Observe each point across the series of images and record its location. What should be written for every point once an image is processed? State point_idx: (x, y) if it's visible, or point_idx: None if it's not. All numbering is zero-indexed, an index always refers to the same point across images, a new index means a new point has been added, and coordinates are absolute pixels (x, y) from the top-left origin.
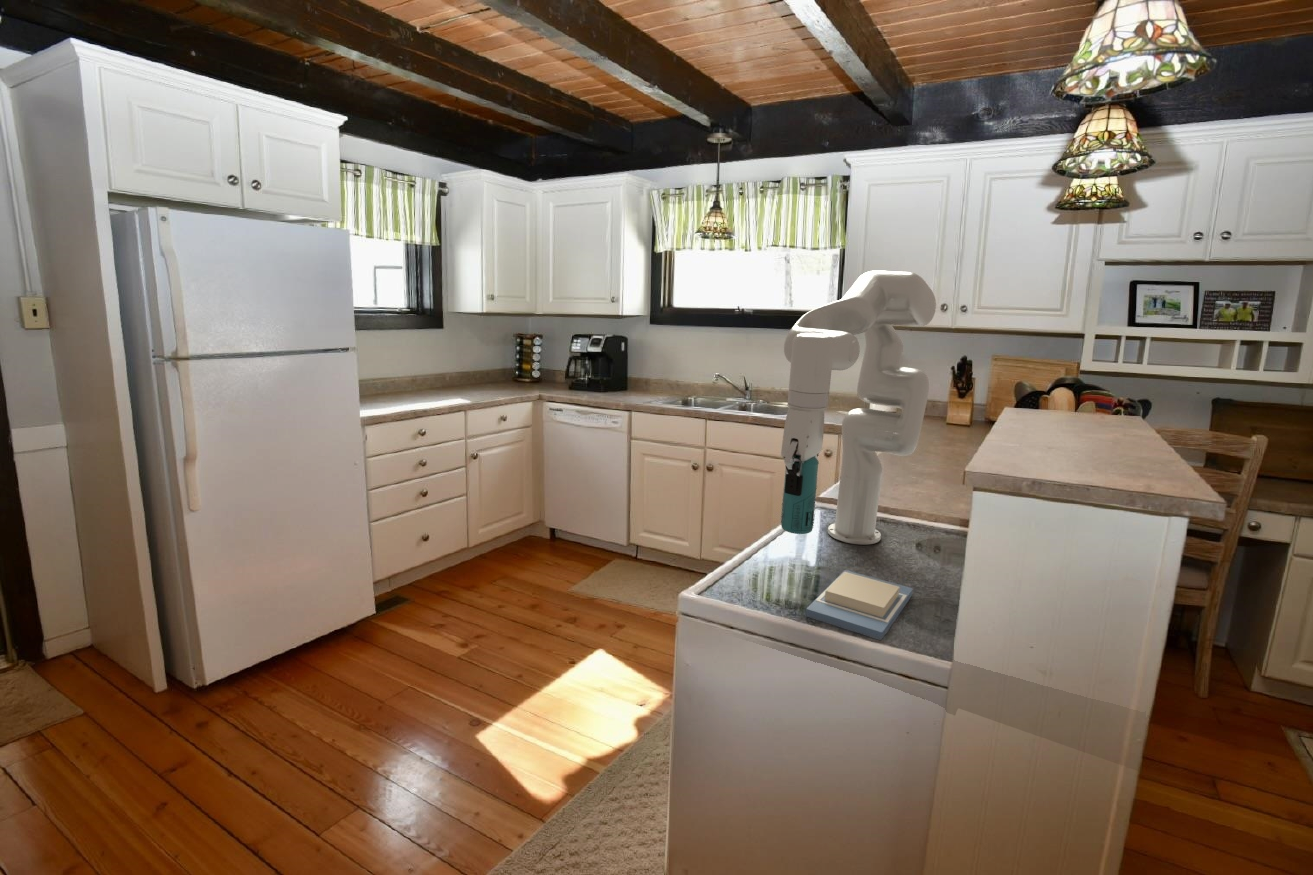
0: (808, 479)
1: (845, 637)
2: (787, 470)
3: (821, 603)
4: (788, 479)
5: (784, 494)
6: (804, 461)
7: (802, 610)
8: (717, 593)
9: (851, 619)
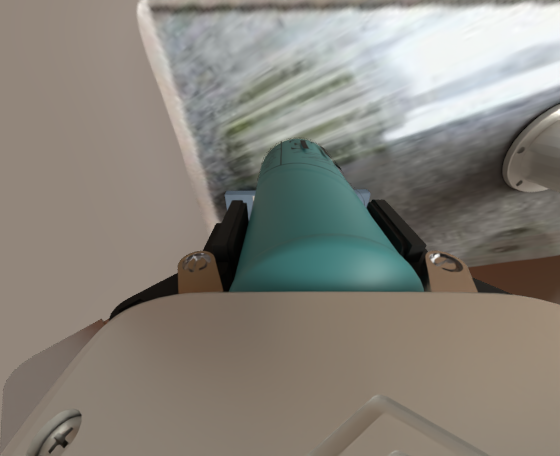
0: None
1: None
2: (155, 287)
3: (251, 203)
4: (204, 247)
5: (267, 178)
6: None
7: (237, 182)
8: (184, 44)
9: None
